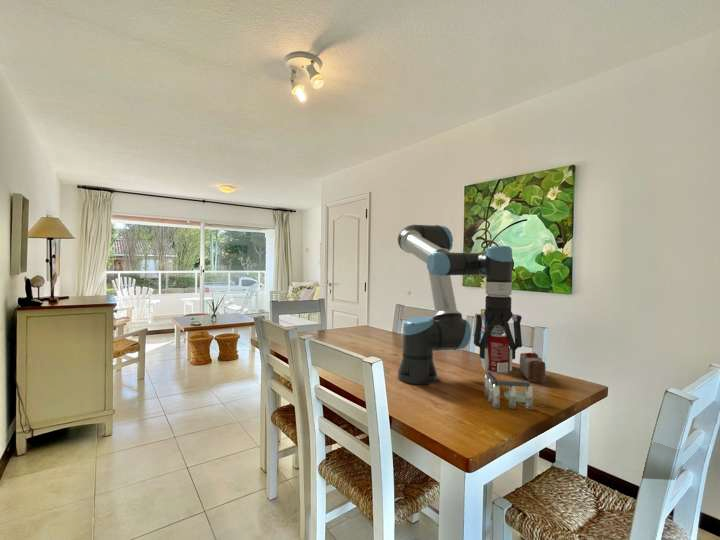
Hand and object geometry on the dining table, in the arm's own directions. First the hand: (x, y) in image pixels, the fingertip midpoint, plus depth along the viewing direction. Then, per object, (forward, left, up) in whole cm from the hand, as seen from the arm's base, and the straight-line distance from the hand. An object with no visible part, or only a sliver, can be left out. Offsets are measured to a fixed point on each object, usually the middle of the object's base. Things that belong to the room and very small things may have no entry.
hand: (496, 368), depth 112 cm
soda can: (0, 0, -1) cm, 1 cm away
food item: (+24, +31, -12) cm, 41 cm away
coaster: (+10, +8, -12) cm, 18 cm away
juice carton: (+12, +45, -12) cm, 49 cm away
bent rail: (+5, +4, -12) cm, 14 cm away
